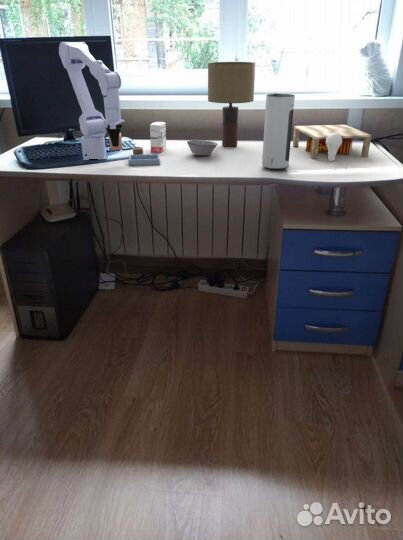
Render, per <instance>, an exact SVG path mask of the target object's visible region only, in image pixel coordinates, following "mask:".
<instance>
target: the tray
mask: <svg viewBox="0 0 403 540" xmlns="http://www.w3.org/2000/svg"><path fill="white" fill-rule="evenodd" d="M128 156H129V157H128V166H129V167H134V166H135V167H137V166H138V167H139V166H161V164H160V163H161V161H160V153H154V154H153V153H152V154H151V153H149V154H143V155H133V154H129V155H128Z"/></svg>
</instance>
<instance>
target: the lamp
mask: <svg viewBox="0 0 403 540" xmlns="http://www.w3.org/2000/svg"><path fill="white" fill-rule="evenodd" d="M255 74H256V62H254V61H213V62H210V61H209V62H207V101H208V102H209V103H213V104H228V106H227V105H226V106H223V107H222V123H221V124H222V125H221V126H222V129H221V130H222V131H221V132H222V133H221V145H222V146H221V147H223V146H224V147H223V148H227V147H233V148H236V147H238V131H239V128H238V127H239V106H234V105H233V104H247V103H252V102H254V99H255V98H254V97H255V77H256V75H255Z"/></svg>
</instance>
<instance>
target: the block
mask: <svg viewBox="0 0 403 540" xmlns="http://www.w3.org/2000/svg"><path fill="white" fill-rule="evenodd" d="M132 155H144V148H143V146H141V147H139V146H138V147H133V148H132Z"/></svg>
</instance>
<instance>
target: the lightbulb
mask: <svg viewBox="0 0 403 540" xmlns="http://www.w3.org/2000/svg"><path fill="white" fill-rule="evenodd" d="M341 143H342V138H341V136H340V135H339V134H337V133H332V134H330V135H329V136H328V137H327V138H326V145H327V148H328V153H327V154H328V155H327V157H328V161H329V162H333V161H335V158H336V155H337V154H338V153H337V150H338V148H339V147H340V145H341Z"/></svg>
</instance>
